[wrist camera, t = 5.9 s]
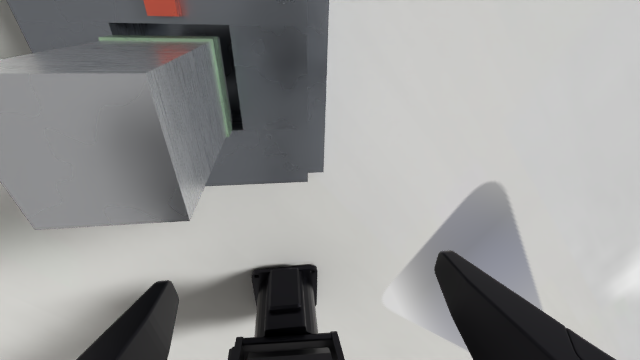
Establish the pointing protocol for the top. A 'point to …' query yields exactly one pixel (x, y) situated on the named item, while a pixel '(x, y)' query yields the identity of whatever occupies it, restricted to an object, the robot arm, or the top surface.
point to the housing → (239, 65)
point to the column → (112, 129)
